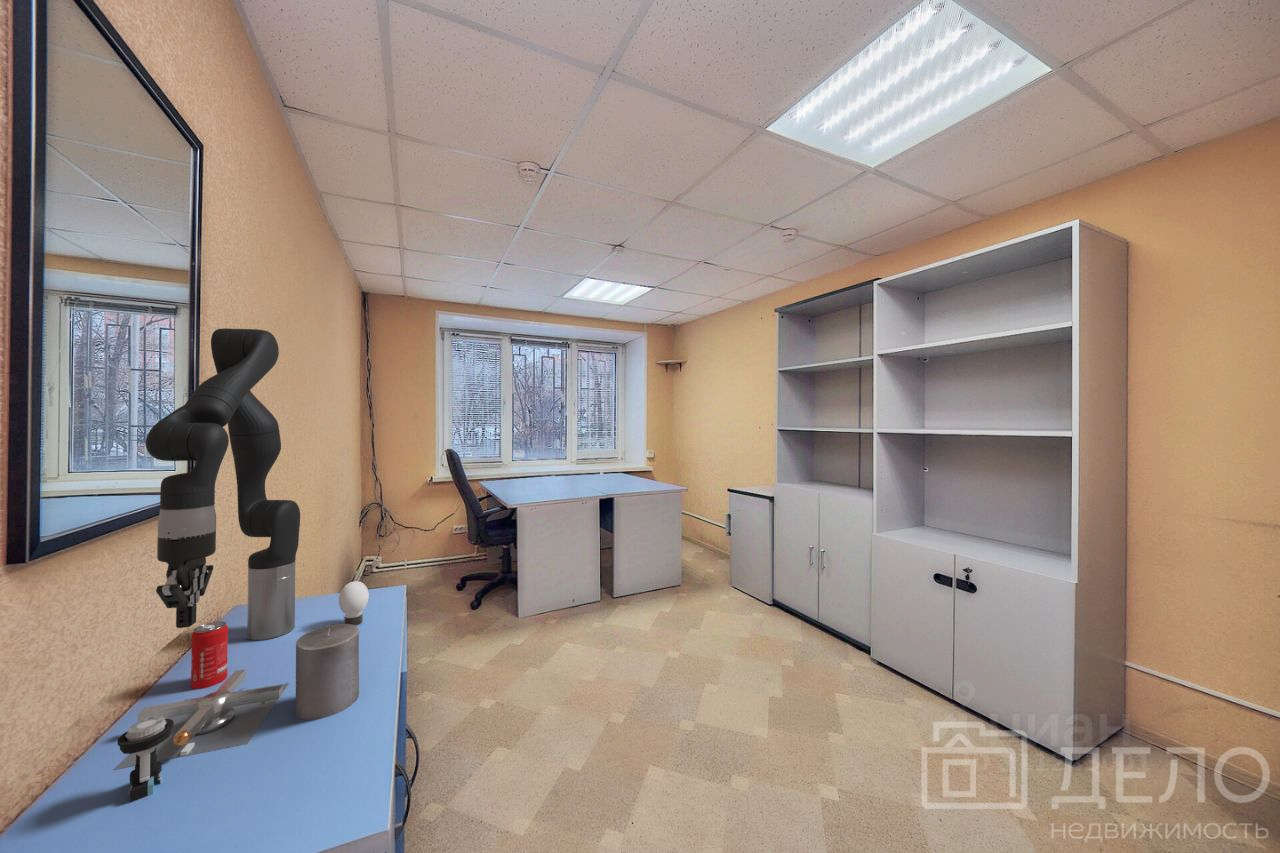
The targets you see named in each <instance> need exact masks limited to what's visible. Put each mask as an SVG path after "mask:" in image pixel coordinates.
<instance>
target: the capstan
mask: <svg viewBox="0 0 1280 853" xmlns="http://www.w3.org/2000/svg"><path fill="white" fill-rule="evenodd" d="M246 671H247V670H246V669H239V670H235V671H233V673H232V674H230V675H229V677H227V678H226V679H225V680H224V681H223V682H224V683H223V682H222V684H221V685H220V686H219V688H218V689H216V690H215V691H213V692H211V693H208V694H206V695H204V696H201V697H202V698H200V699H194V700H187V701H184V700H182V701H176V702H170V703H165V704H158V705H153V706H152V705H151V706H150V705H149V706H145V707H143V708H142V709H141V710H140V711H138V714H137V722H139V721H141V720H144V719H147V718H150V717H155V716H163V717H164V718H165V719H166V718H169V717H175V716H181V715H187V714H193V713H195V714H194V715H193V716H192V717H191V718H190V719H189V720H188V722H187V723H186V724H185V725H184V726H183V727H182V728H181V729H180V730H179V731H178V732H177V733H176V734H175V737H174V739H173V743H174V746H175V745H176V746H181V745H184V744H186V743H188V742H189V741H190V740H191V739H192V738H193V737H194V736H199V735H204V734H208V733H211V732H214V731H216V730H219V729H221V728H223V727H225V726H226V725H228V724H229V723H230V722H231V721H232V720H233V719H234V714H235V710H234V709H233V708H231V707H234V706H240V705H246V704H252V703H258V702H264V701H270V700H276V699H278V700H279V699H281V697H282V696H283V693H284V692H283V685H281V686H275V687H268V686H267V687H268V688H262V689H256V690H250V691H243V690H242V691H243V692H237V693H232V692H235V690H236V689H237V688H238V687H239V686H240V684H242V682H243V681H244V680H245V679H246V673H247V672H246Z"/></svg>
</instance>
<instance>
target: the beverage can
mask: <svg viewBox="0 0 1280 853" xmlns="http://www.w3.org/2000/svg"><path fill="white" fill-rule="evenodd" d="M228 635H229V627H228V625H227V622H226V621H222V620H221V621H219V620H218V621H213V622H208V623H204V624H200V625H198V626H196V627H195V628H194V629H193V632H192V633H191V646H190V647H191V650H190V651H191V654H190V659H191V661H190V662H191V663H190V664H191V666H190V668H191V669H190V688H192V689H195V690H203V689H206V688H210V687H213V686H216V685H219V684H221V683H223V682H225V681H226V680H227V679H228V656H229V655H228V654H229V653H228V646H229V645H228V643H229V642H228V641H229V640H228V639H229V636H228Z"/></svg>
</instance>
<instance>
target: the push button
mask: <svg viewBox="0 0 1280 853" xmlns="http://www.w3.org/2000/svg"><path fill="white" fill-rule="evenodd" d="M173 725H174V722H173V720H171V719H166V718H164V717H163V716H155V717H150V718H147V719H144V720H141V721H139V722H138V721H137V722H135V723H134V724H132V725H130V726H129V727H128V729H127V731H125V732H124V733H122V734H121V735H120V736H119V737H118V739H117V746H118V747H119V750H120V751H121V752H122V753H123V754H126V755H129V754H137V755H136V765H135V766H134V769H132V770H131V772H130V773H129V784H130V786H129V794H128V796H130V803H133V802H136V801H138V800H141V799H143V798H146V797H149V796H151V795H154V789H155V784H156V783H157V782H159V784H160V785H161V784H162V774H161V772H162V771H163V770H162V769H163V767H162V765H163V761H158V762H157V755H156V748H155V747H156V746H158V745H159V744H161V743H162V742H163V741H164V740H166V739H167V738H168V737H169V736H170V735H171V729H172V727H173Z"/></svg>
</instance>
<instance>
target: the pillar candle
mask: <svg viewBox="0 0 1280 853" xmlns="http://www.w3.org/2000/svg"><path fill="white" fill-rule="evenodd" d="M359 631H360V630H359V627H358V626H357V625H351V624H344V623H337V624H332V625H331V624H329V625H326V626H322V627H318V628H316V629H315V628H314V629H312V630H310V631H308V632H306V633H304V634H303V635H301V636H300V637H299V638H298V639H297V640H296V643H295V715H296V717H297V718H299V719H301V720H304V721H305V720H306V721H307V720H308V721H309V720H310V721H311V720H313V721H314V720H315V721H316V720H320V719H325V718H328V717H331V716H334V715H336V714H339V713H341V712H343V711H346V710H347V709H348V708H349V707H351V706H352V705H353V704H354V703H356V702H357V700H358V698H359V694H360V666H359V665H360V661H359V660H360V649H359V648H360V647H359V646H360V645H359V642H360V635H359V634H360V632H359Z"/></svg>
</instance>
